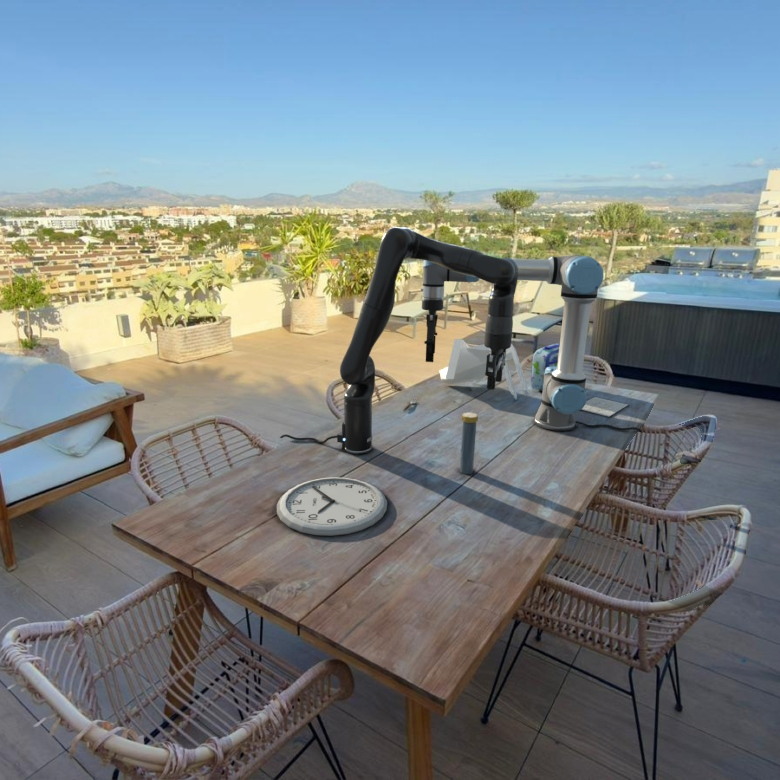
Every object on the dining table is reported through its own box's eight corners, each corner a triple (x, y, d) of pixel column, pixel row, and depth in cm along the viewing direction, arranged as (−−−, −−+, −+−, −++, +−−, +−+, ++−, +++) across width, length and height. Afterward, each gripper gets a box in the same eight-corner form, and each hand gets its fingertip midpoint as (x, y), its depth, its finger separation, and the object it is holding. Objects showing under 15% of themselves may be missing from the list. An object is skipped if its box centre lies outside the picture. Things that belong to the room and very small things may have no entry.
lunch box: (547, 395, 239) (552, 351, 233) (526, 390, 247) (530, 347, 240) (574, 384, 257) (579, 343, 251) (554, 380, 264) (558, 339, 258)
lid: (470, 416, 162) (470, 411, 162) (480, 421, 158) (481, 415, 158) (459, 419, 160) (459, 413, 159) (469, 424, 156) (469, 418, 156)
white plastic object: (461, 429, 252) (437, 405, 227) (444, 352, 274) (420, 323, 250) (535, 404, 240) (518, 377, 215) (510, 326, 262) (492, 293, 237)
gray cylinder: (467, 467, 167) (470, 413, 161) (475, 472, 164) (479, 417, 158) (457, 470, 165) (460, 415, 159) (465, 475, 162) (469, 419, 156)
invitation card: (608, 416, 214) (573, 407, 224) (608, 416, 214) (573, 408, 224) (628, 404, 229) (594, 396, 238) (628, 405, 229) (594, 397, 238)
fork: (400, 411, 216) (400, 406, 215) (412, 399, 230) (412, 395, 230) (406, 412, 215) (406, 407, 215) (418, 400, 230) (418, 396, 229)
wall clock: (392, 527, 129) (268, 531, 127) (391, 533, 130) (269, 537, 127) (383, 473, 158) (282, 475, 155) (383, 478, 158) (282, 480, 156)
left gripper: (491, 325, 156) (487, 377, 161) (479, 333, 143) (475, 390, 148) (516, 327, 153) (512, 380, 158) (506, 336, 141) (501, 393, 145)
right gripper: (424, 293, 195) (422, 349, 202) (419, 302, 172) (417, 365, 178) (444, 294, 195) (441, 350, 201) (442, 303, 171) (439, 366, 177)
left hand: (494, 385), depth 153 cm, fingers open, 8 cm apart
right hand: (430, 357), depth 190 cm, fingers open, 13 cm apart
